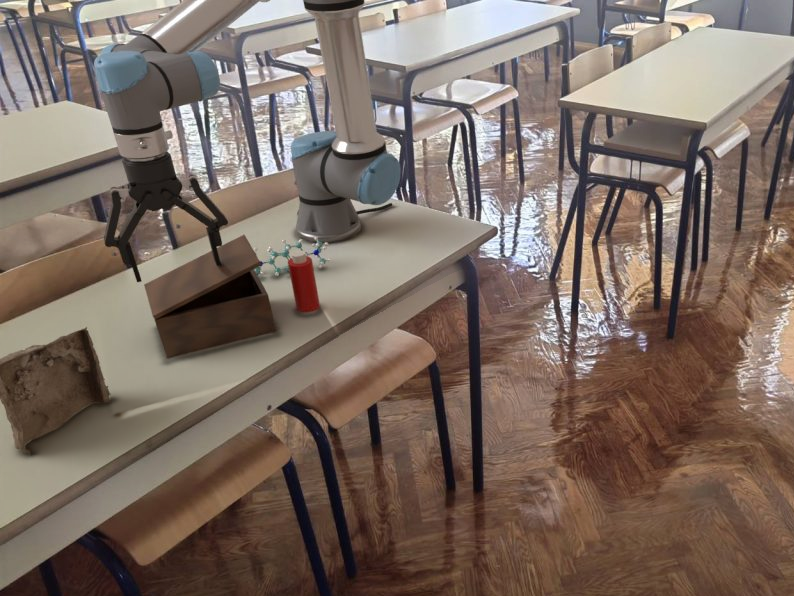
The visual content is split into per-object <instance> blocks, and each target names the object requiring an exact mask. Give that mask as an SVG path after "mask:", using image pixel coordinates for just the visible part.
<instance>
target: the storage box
mask: <svg viewBox="0 0 794 596" xmlns="http://www.w3.org/2000/svg"><path fill="white" fill-rule="evenodd" d="M153 320H154V323H155V326H156V329H157V332H158V335H159V338H160V341H161V344H162V348H163V351H164V353H165V357H166V359H170V358H175V357H178V356H182V355H186V354H190V353H194V352H199V351H203V350H206V349H210V348H214V347H219V346H222V345H227V344H231V343H236V342H239V341H243V340H247V339H251V338H256V337H260V336H263V335H268V334H273V333H275V332H277V329H276V324H275V320H274V316H273V311H272V307H271V301H270V297H269V294H268V292H267V290H266V288H265V286H264V285H263V283H262V280H261V278H260V277H259V274H257V273H256V272H255V269H253V270H251V271H249V272H247V273H245V274H243V275H241V276H239V277H237V278H235V279H233V280H231V281H229V282H227V283H225V284H223V285H222V286H220V287H218V288H216V289H214V290H212V291H210V292H208V293H206V294H204V295H202V296H200V297H198V298H196V299H194V300H192V301H190V302H188V303H186V304H184V305H182V306H181V307H179V308H177V309H175V310H173V311H171V312H169V313H167V314H165V315H163V316H161V317H159V318H157V319H154V318H153Z"/></svg>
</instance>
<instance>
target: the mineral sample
mask: <svg viewBox="0 0 794 596" xmlns="http://www.w3.org/2000/svg"><path fill="white" fill-rule="evenodd" d="M87 328H88V327H87V326H86V327H85V328H81V329H79V330H75V331H73V332H71V333H68V334H67V335H62V336H59V337H58V338H56V339H54V340H53V341H51V342H49V343H48V344H41V345H40V344H35V345H31V346H29V347H26V348H25V349H20V350H17V351H14V352H10V353H9V354H7V355H5V356H2V357H1V358H0V402H1V404H2V405H3V407H4V410H5V414H6V419H7V420H8V422H9V424H10V428H11V431H12V437H13V442H14V448H15V450H16V449H17V450H19V449H20V450H22V451H23V452H24V453H26V454H28V455H29V456H32V453H31V452H30V449H27V448H25V447H26V446H25V445H26V444H27V443H29V442H30V441H32V440H33V441H34V440H36V439H38V438H40V437H43V436H44V435H46V434H49V433H50V432H52V431H53V430H56V428H58V427H60V426H61V425H63V424H64V423H66V422H67V421H68V420H70V419H71V418H72V417H73V416H74V415H75V414H76V413H79V412H80V411H81V410H83V409H85V408H86V407H88V406H90V405H92V404H94V403H98V404H99V403H100V404H107V403H109V402H111V401H112V400H111V398H110V397H111V395H112V394H111V393H110V391H109V390H110V389H109V385H107V384H106V380H105V378H104V374H103V372H102V367H101V365H100V364H101V363H100V359H99V356H98V354H97V351H96V348H95V347H94V342H93V340H92V337H91V336H90V335H91V334H90V333H89V330H88V329H87Z"/></svg>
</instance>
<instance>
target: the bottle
mask: <svg viewBox="0 0 794 596" xmlns="http://www.w3.org/2000/svg"><path fill="white" fill-rule="evenodd" d="M305 252H306V251H304V250H303V251H302V250H295V251H293V252H292V253H291V257H290V258H291V259H290V258H289V261H288V260H287V266H288V267H289V271H288V272H289V277H290V280H291V288H292V293H293V298H294V302H295V303H294V304H295V308H296V310H297V311H298V312H300V313H311V312H312V313H313V312H315V311H317V310H318V309H319V308H321V303H320V298H319V293H318V292H319V291H318V286H317V281H316V275H315V270H314V269H315V268H314V264H313V259H312V257H311V256H309V255H308V256H306V254H305Z"/></svg>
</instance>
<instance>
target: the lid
mask: <svg viewBox="0 0 794 596" xmlns="http://www.w3.org/2000/svg"><path fill="white" fill-rule="evenodd" d="M217 251H218V255H219V259H220V263H221V265H220V266H217V265H216V263H215V261H214V257H213V253H212V250H210V251H208V252H206V253H204V254H202V255H200V256H198V257H196V258H194V259H192V260H190V261H188V262H186V263H184V264H182V265H179V266H178V267H175V268H174V269H173V270H170V271H168V272H166V273H164V274H162V275H160V276H158V277H156V278H154V279H152V280H150V281H148V282H146V283H144V284H143V286H144V290H145V293H146V297H147V300H148V301H147V302H148V304H149V308H150V312H151V315H152V318H153V320H154V319H157V318H159V317H161V316H163V315H165V314H167V313H169V312H171V311H173V310H175V309H177V308H179V307H181V306H182V305H184V304H186V303H188V302H190V301H192V300H194V299H196V298H198V297H200V296H202V295H204V294H206V293H208V292H210V291H212V290H214V289H216V288H218V287H220V286H222V285H223V284H225V283H227V282H229V281H231V280H233V279H235V278H237V277H239V276H241V275H243V274H245V273H247V272H249V271H251V270H253V269H254V270H255V268H257V267H259V266H261V265H262V264H261V263H260V261H261V260H260V259H259V257H258V255H257V253H256V251H255V250H254V248H253V246H252V244H250V241H249V240H248V237H247V236H246V234H242V235H240V236H238V237H236V238H234V239H233V240H230V241H228V242H226V243H224V244H222V246H218V247H217ZM254 251H255V252H254ZM255 253H256V254H255ZM262 266H263V265H262ZM262 266H261V267H262Z"/></svg>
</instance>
